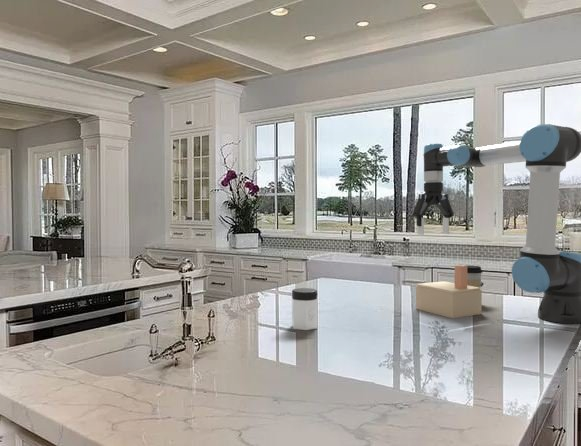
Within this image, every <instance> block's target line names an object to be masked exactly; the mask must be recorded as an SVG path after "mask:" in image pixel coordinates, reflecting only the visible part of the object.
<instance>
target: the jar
mask: <svg viewBox="0 0 581 446" xmlns="http://www.w3.org/2000/svg"><path fill="white" fill-rule="evenodd" d="M318 317H319V316H318V290H317V289H316V288H311V287H310V288H309V287H307V288H306V287H302V288H300V287H299V288H293V289H292V290H291V326H292V329H294V330H299V331H310V330H311V331H312V330H316V329H318V328H319V327H318V326H319V325H318V323H319V322H318V319H319V318H318Z"/></svg>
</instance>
